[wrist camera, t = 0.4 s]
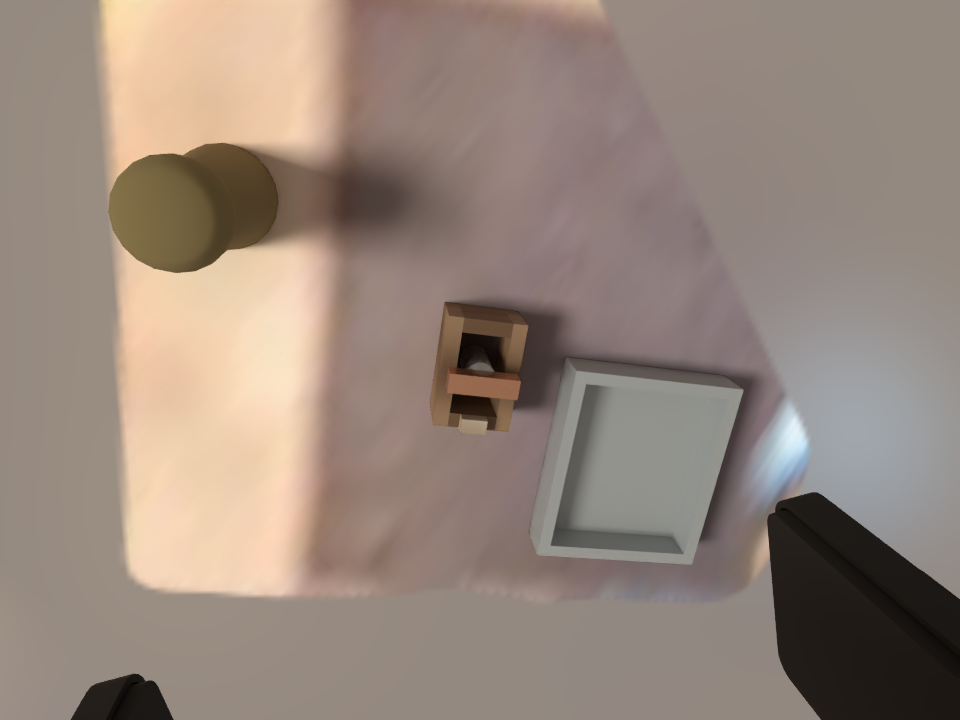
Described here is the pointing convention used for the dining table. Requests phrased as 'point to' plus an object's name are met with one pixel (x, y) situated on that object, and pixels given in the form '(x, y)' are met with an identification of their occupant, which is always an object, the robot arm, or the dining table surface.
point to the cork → (192, 206)
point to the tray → (631, 461)
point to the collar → (512, 333)
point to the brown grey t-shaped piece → (480, 377)
